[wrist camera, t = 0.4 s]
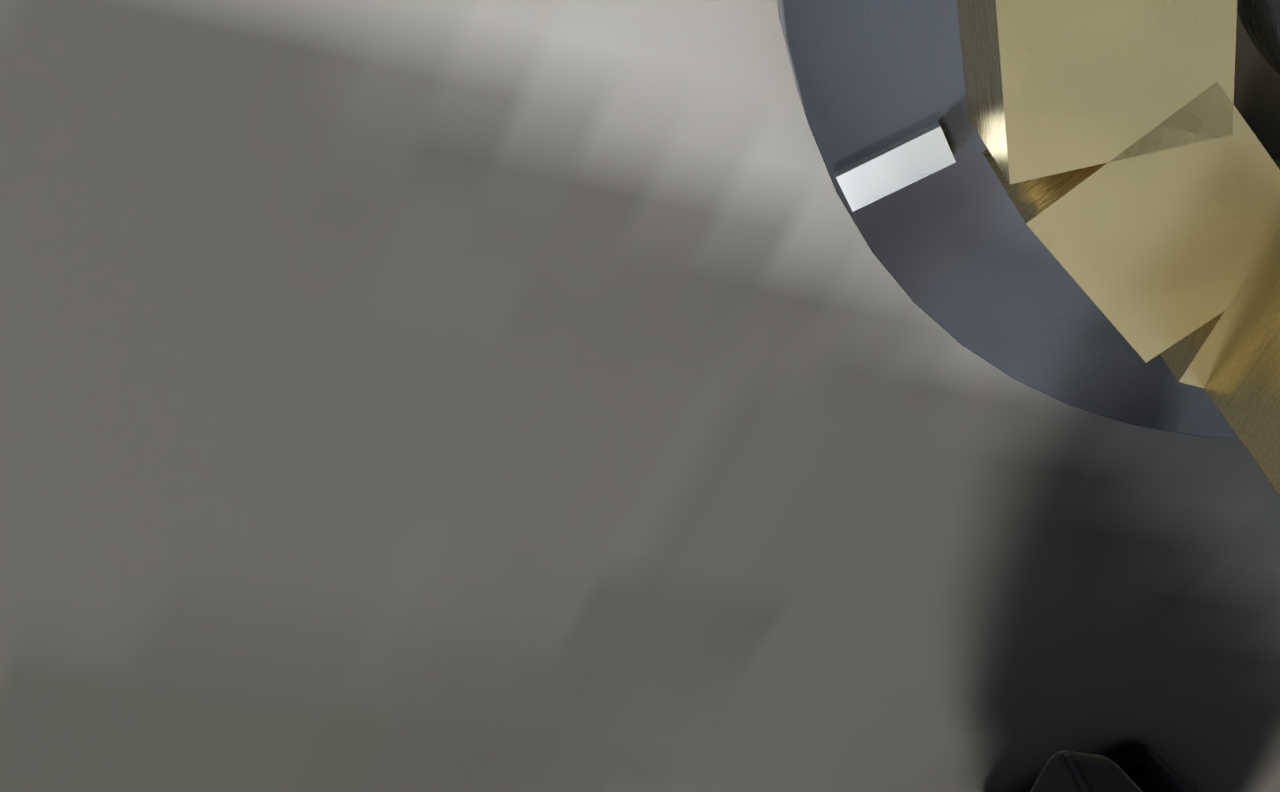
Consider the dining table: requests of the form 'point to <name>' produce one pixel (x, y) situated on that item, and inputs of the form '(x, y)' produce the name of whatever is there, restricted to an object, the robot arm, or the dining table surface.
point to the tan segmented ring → (1142, 181)
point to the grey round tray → (984, 200)
